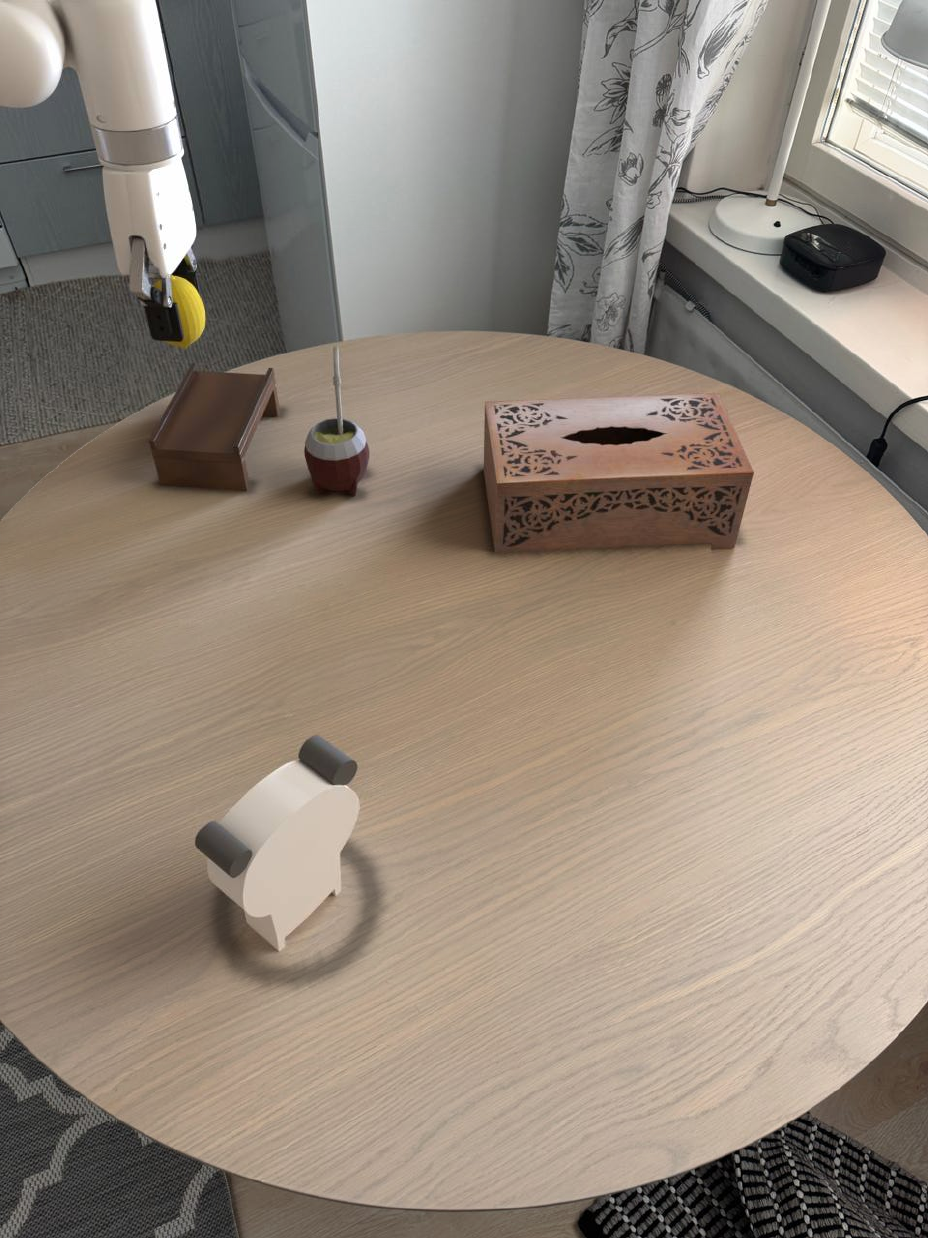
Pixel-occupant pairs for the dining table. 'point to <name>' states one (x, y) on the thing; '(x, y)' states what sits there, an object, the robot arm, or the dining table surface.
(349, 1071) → the dining table surface
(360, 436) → the mate gourd
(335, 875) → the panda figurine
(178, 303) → the lemon
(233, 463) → the shelf
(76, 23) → the robot arm
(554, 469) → the tissue box cover
